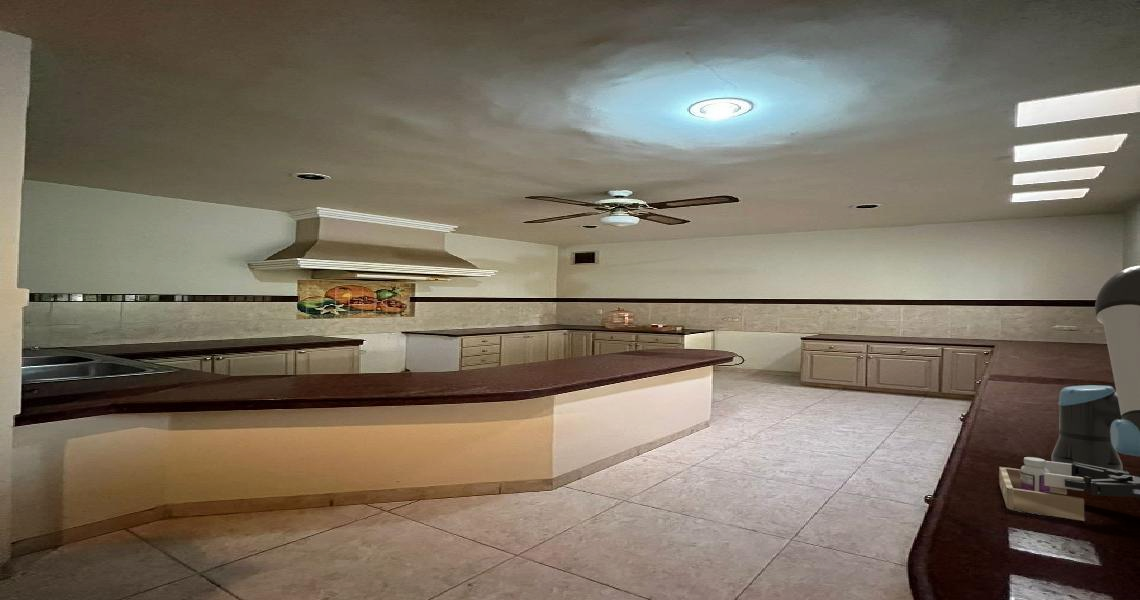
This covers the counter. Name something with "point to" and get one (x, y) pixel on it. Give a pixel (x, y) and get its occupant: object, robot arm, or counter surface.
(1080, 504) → the wooden frame
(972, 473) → the counter surface
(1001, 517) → the counter surface
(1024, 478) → the pill bottle
